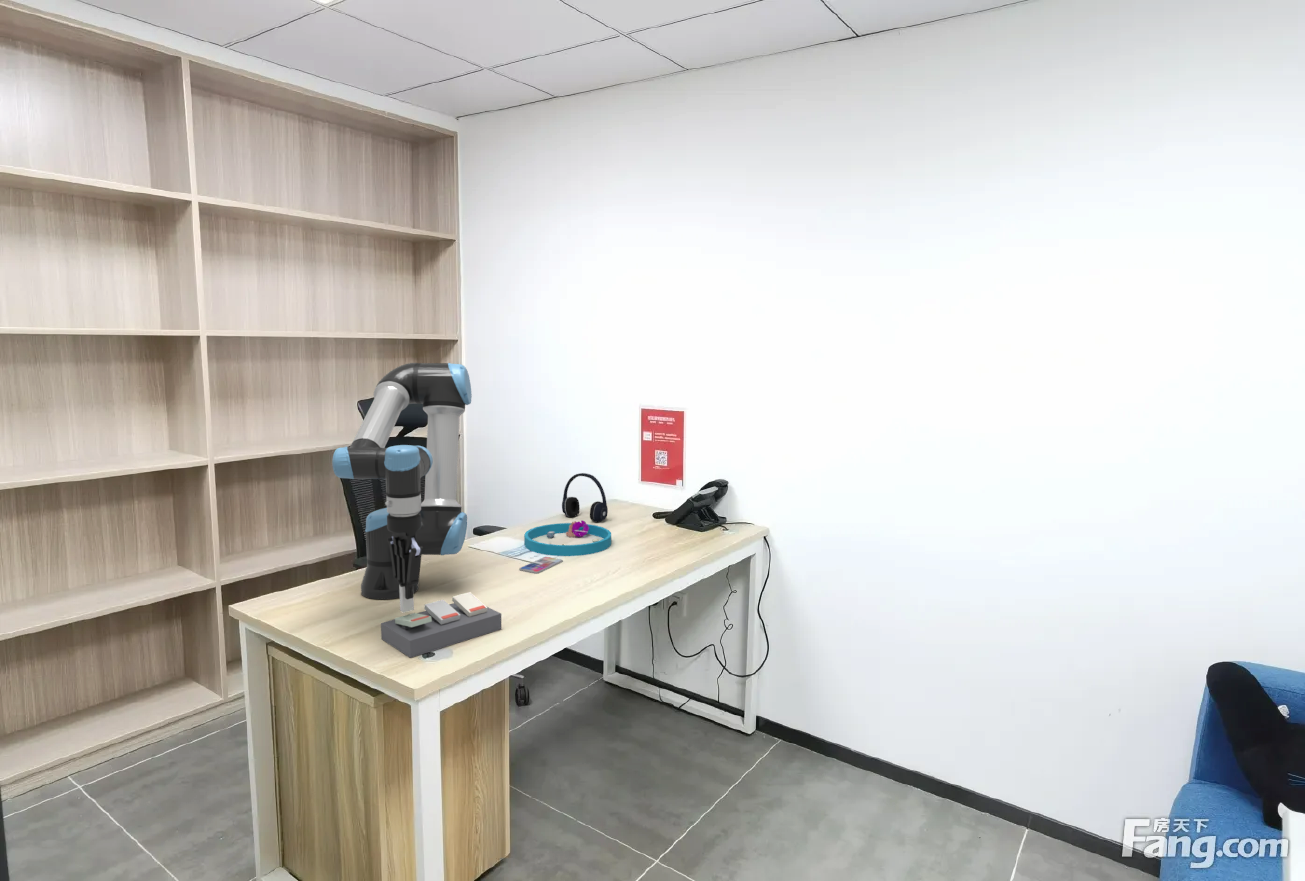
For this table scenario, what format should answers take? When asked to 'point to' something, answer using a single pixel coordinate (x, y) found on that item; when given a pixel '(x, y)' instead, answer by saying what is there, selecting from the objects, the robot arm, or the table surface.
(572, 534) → the teal round tray
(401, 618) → the sage rocker
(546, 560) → the smartphone
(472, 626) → the rocker switch panel
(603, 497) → the headphones
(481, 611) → the cream rocker
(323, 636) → the table surface
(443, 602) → the grey rocker
